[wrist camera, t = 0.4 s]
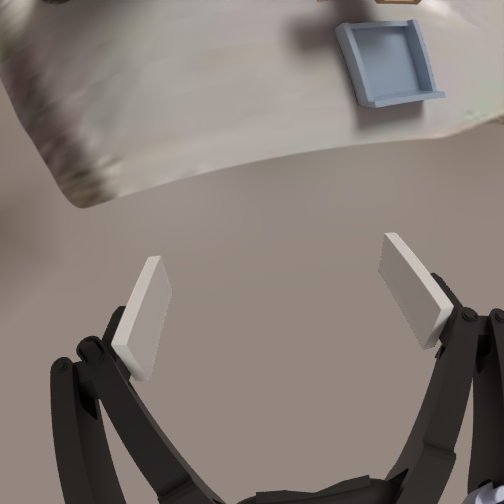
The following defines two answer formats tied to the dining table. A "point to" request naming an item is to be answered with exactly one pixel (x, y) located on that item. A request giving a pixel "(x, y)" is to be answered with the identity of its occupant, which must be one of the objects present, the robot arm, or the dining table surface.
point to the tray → (387, 62)
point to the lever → (394, 1)
